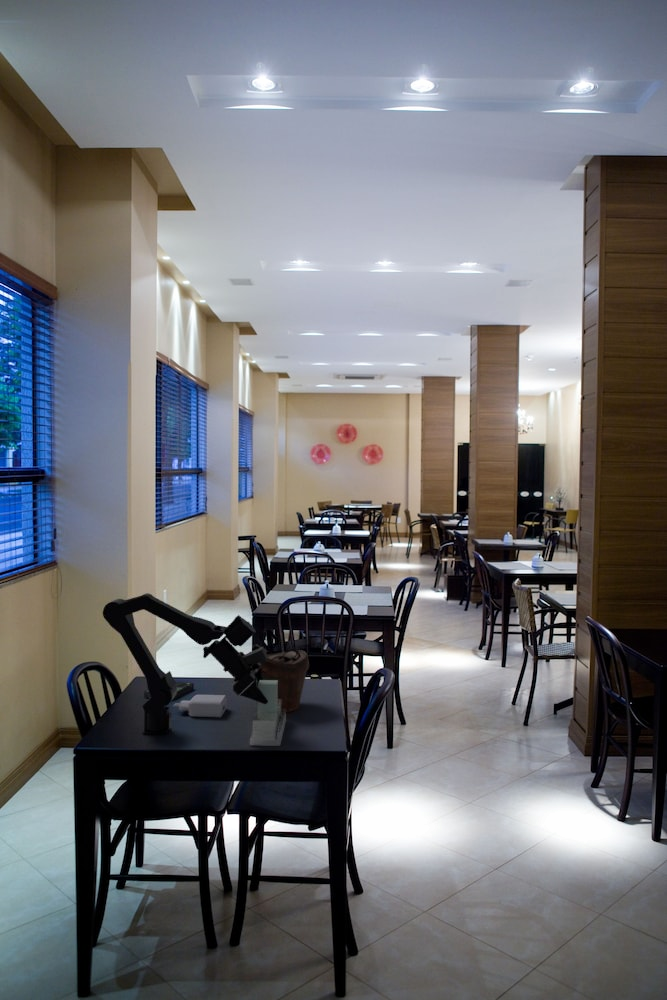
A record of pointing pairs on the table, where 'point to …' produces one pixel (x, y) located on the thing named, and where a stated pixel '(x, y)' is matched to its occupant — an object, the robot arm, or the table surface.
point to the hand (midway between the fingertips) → (268, 698)
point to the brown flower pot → (287, 675)
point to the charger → (204, 705)
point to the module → (268, 696)
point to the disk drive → (181, 689)
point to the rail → (279, 734)
